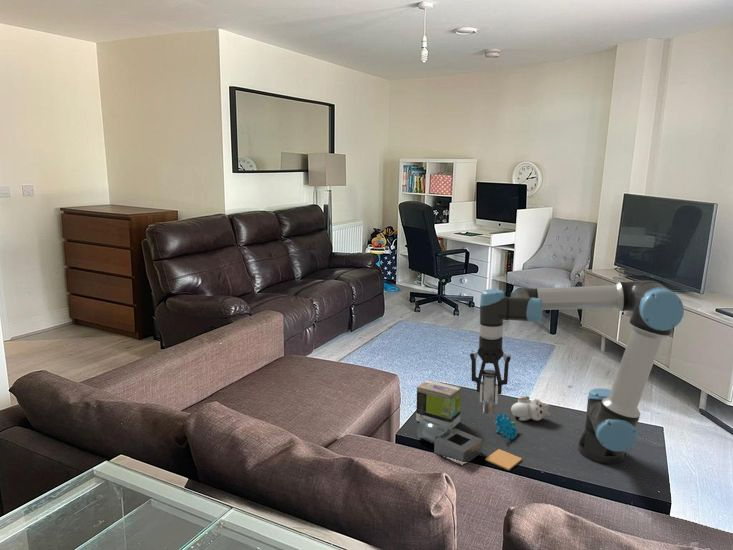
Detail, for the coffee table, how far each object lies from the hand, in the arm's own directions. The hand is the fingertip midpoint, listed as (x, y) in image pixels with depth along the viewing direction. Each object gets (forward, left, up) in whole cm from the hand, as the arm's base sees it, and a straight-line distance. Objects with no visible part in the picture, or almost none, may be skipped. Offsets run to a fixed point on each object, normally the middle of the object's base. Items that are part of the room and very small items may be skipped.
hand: (488, 401), depth 180 cm
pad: (-5, -3, -21) cm, 22 cm away
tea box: (+28, -10, -21) cm, 36 cm away
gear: (+3, -19, -21) cm, 28 cm away
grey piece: (+14, +4, -21) cm, 25 cm away
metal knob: (0, 0, -3) cm, 3 cm away
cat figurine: (+3, -38, -21) cm, 43 cm away
